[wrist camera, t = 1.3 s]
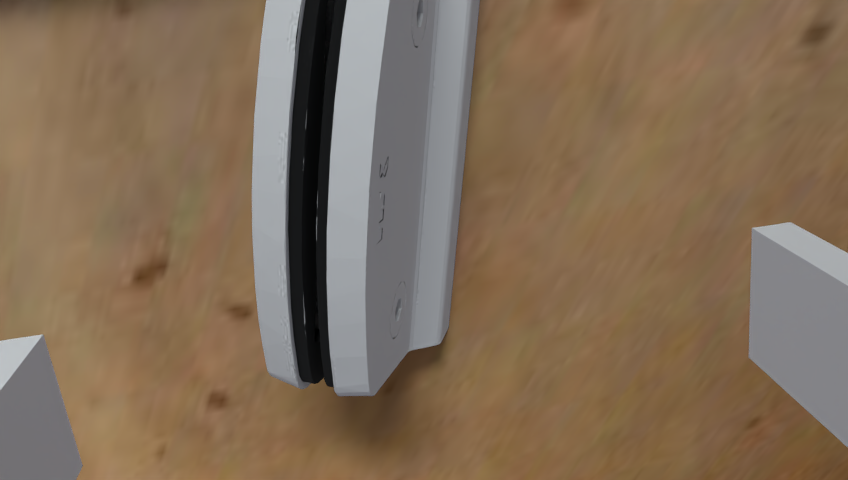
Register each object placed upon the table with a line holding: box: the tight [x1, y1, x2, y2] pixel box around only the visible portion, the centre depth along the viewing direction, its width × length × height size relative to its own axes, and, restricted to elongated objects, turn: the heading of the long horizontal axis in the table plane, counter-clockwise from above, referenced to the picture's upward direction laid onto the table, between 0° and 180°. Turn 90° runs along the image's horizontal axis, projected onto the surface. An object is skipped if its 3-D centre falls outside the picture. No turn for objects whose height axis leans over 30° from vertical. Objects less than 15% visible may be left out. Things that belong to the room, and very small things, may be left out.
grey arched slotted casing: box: [252, 0, 480, 396], centre depth 28 cm, size 17×5×10 cm, turn 176°
